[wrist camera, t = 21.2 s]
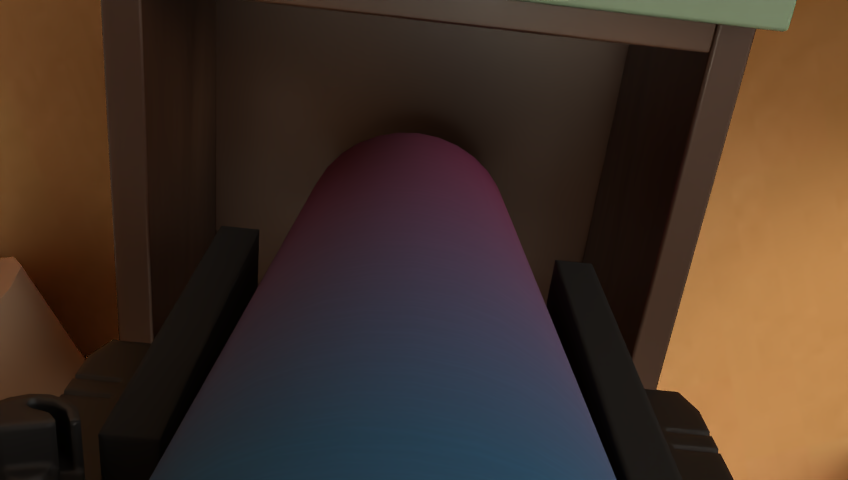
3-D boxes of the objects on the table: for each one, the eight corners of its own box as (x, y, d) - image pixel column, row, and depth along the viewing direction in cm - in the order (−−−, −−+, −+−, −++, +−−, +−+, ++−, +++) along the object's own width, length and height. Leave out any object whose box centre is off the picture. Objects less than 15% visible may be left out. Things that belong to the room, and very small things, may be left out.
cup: (540, 84, 19) (849, 662, 5) (544, 336, 21) (748, 1147, 8) (250, 105, 19) (-222, 711, 5) (291, 351, 22) (56, 1165, 8)
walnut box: (196, 332, 26) (125, 474, 20) (193, -80, 21) (95, -61, 15) (576, 368, 27) (621, 517, 21) (665, -25, 22) (762, 16, 15)
